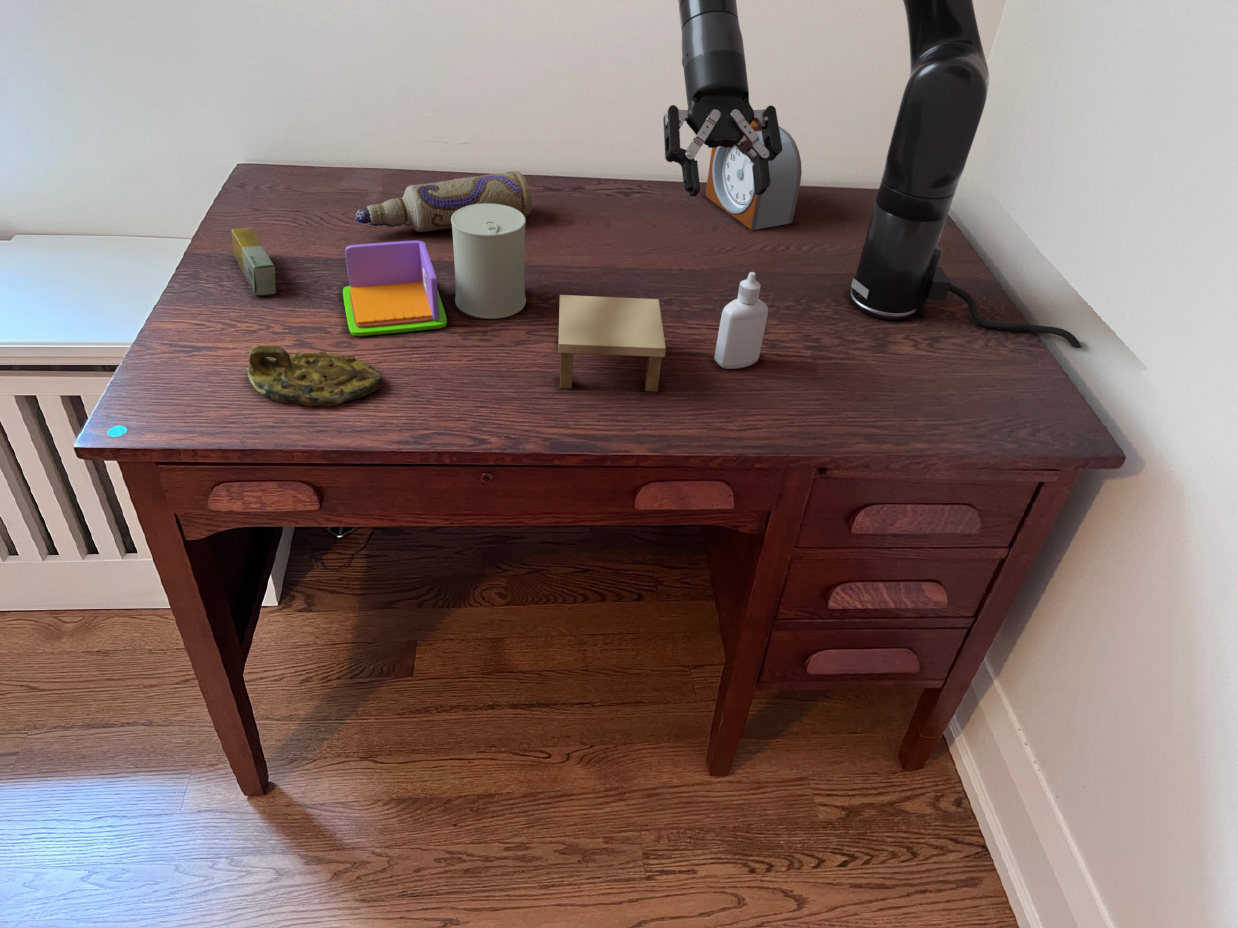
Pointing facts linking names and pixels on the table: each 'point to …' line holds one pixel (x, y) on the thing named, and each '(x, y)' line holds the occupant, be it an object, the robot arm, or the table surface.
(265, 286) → the medication box
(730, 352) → the eye dropper bottle
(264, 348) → the seal
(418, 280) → the dollhouse room
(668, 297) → the table surface
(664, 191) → the table surface
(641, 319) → the stand
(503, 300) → the can
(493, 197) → the decorative bottle
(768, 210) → the alarm clock
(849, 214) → the table surface
